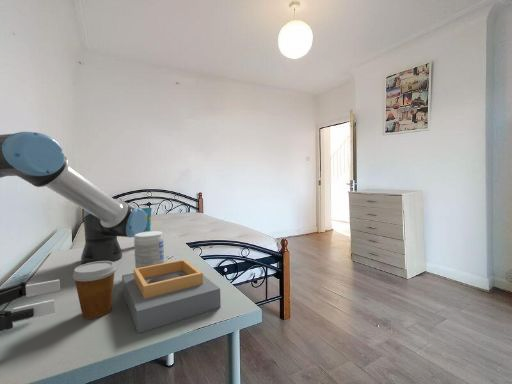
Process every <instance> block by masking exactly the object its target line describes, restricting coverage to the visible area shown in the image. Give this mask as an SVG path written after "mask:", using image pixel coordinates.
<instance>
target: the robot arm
mask: <svg viewBox="0 0 512 384" xmlns="http://www.w3.org/2000/svg"><path fill="white" fill-rule="evenodd" d="M4 177H18V178H20V179H22V180H24V181H26V182H27V183H29V184H31V185H32V186H34V187H35V188H43V187H47V188H48V189H50V190H51V191H52V192H55V193H56V194H59V195H60V196H61V197H62V198H64V199H66V200H68V201H69V202H71V203H73V204H74V205H76V206H78V207H79V208H81V209H82V210H83V217H82V218H83V226H84V240H85V241H84V242H85V243H84V247H83V250H82V253H81V257H80V263H81V265H83V264H87V263H91V262H97V261H111V262H116V261H118V260H121V258H123V250H122V249H121V248H122V247H121V246H120V243H119V241H118V237H123V238H130V239H131V238H134V235H135V234H138V233H142V232H143V231H144V230H145V227H146V224H147V216H146V213H145V211H144V210H142V209H139V208H140V207H132V206H131V205H130V204H128V203H127V202H125V201H124V200H116V199H115V198H113V197H112V196H110V195H109V194H108V193H107V192H105V191H104V190H102V189H101V188H99V187H98V186H97V185H96V184H95V183H92V182H91V181H90V180H89V179H87V178H86V177H85V176H83V175H82V174H80V173H79V172H78V171H77V170H75V169H74V168H72V167H71V166H70V165H69V159H68V158H67V156H65V153H64V152H63V148H62V146H61V144H60V143H58V142H57V141H56V139H54V138H52V137H51V136H49V135H47V134H45V133H42V132H35V131H34V132H33V131H20V132H15V133H6V134H0V179H1V178H4ZM60 285H61V284H60V278H59V279H54V280H48V281H42V282H37V283H36V282H35V283H32V284H27V282H26V281H22V282H20V283H17V284H14V285H11V286H7V287H3V288H1V289H0V306H2V305H3V306H4V304H8V303H10V302H13V301H15V300H17V299H19V298H23V297H25V296H26V298H29V297H33V296H34V297H35V296H39V295H44V294H49V293H53V292H58V291H60V289H61V286H60ZM51 314H56V307H55V299H49V300H45V301H40V302H36V303H30V304H26V305H22V306H21V305H20V306H16V307H13V309H12V310H3V309H0V332H2V331H5V330H10V329H12V328H14V323H18V322H23V321H26V320H31V319H35V318H40V317H43V316H47V315H51Z"/></svg>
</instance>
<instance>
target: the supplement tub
mask: <svg viewBox="0 0 512 384" xmlns="http://www.w3.org/2000/svg"><path fill="white" fill-rule="evenodd" d="M163 235H164V234H163V231H157V230H154V231H153V230H152V231H150V232H142V233H138V234H135V235H134V237H133V238H134V239H133V243H134V245H133V246H134V262H135V263H134V265H135V266H134V267H135V269H136V268H141V267H146V266H152V265H157V264H162V263H165V251H164V249H165V247H164V236H163Z"/></svg>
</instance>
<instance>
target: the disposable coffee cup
mask: <svg viewBox="0 0 512 384" xmlns="http://www.w3.org/2000/svg"><path fill="white" fill-rule="evenodd" d="M116 270H117V266H115V261H113V262H111V261H97V262H91V263H87V264H81V265H78V266H77V267H74V270H73V273H72V276H71V277H72V278H73V280H74V282H75V288H76V291H77V297H78V302H79V306H80V311H81V315H82V318H84V319H87V320H93V319H97V318H101V317H104V316H105V315H108V314H109V313H110V312H111V310H112V305H113V304H112V303H113V294H114V293H113V291H114V281H115V273H116Z"/></svg>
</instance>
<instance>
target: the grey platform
mask: <svg viewBox="0 0 512 384" xmlns="http://www.w3.org/2000/svg"><path fill="white" fill-rule="evenodd" d="M121 280H122V281H121V282H122V283H121V284H122V286H121V287H122V293H123V297H124V298H125V302H126V304H127V306H128V307H127V308H128V309H129V313H130V315H131V319H132V321H133V323H134V326H135V329H136V332H137V334H140V333H141V334H142V333H143V332H147V331H150V330H154V329H157V328H159V327H162V326H166V325H169V324H172V323H176V322H178V321H181V320H184V319H189V318H190V317H194V316H199V315H200V314H204V313H207V312H209V311H213V310H216V309H218V308H221V307H222V306H221V301H222V300H221V288H220V287H219V286H218V285H216V283H214V282H212V280H211V279H209V278H208V277H206V276H205V275H204V274H203V272H202V271H201V270H199V269H198V268H197V267H196V266H194V265H193V264H192V263H190V262H189V261H188V260H186V259H185V258H184V259H179V260H174V261H168V262H164V263H162V264H157V265H152V266H146V267H141V268H136V267H135V268H133V272H132V273H127V274H121Z"/></svg>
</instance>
